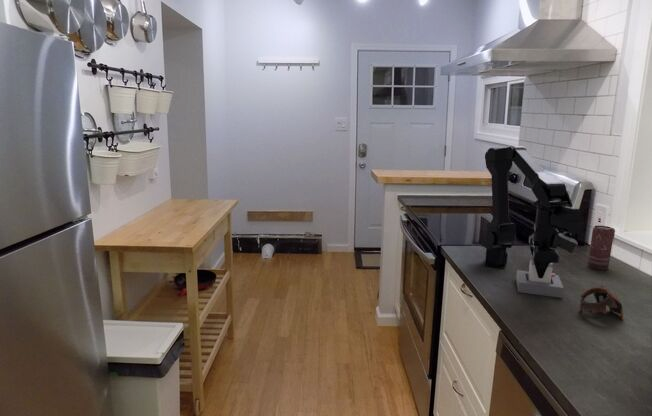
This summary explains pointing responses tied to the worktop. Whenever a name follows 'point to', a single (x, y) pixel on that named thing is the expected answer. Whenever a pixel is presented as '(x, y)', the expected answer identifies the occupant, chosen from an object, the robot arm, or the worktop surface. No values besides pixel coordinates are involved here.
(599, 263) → the can
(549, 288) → the socket block
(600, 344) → the worktop surface
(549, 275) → the plug
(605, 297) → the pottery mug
